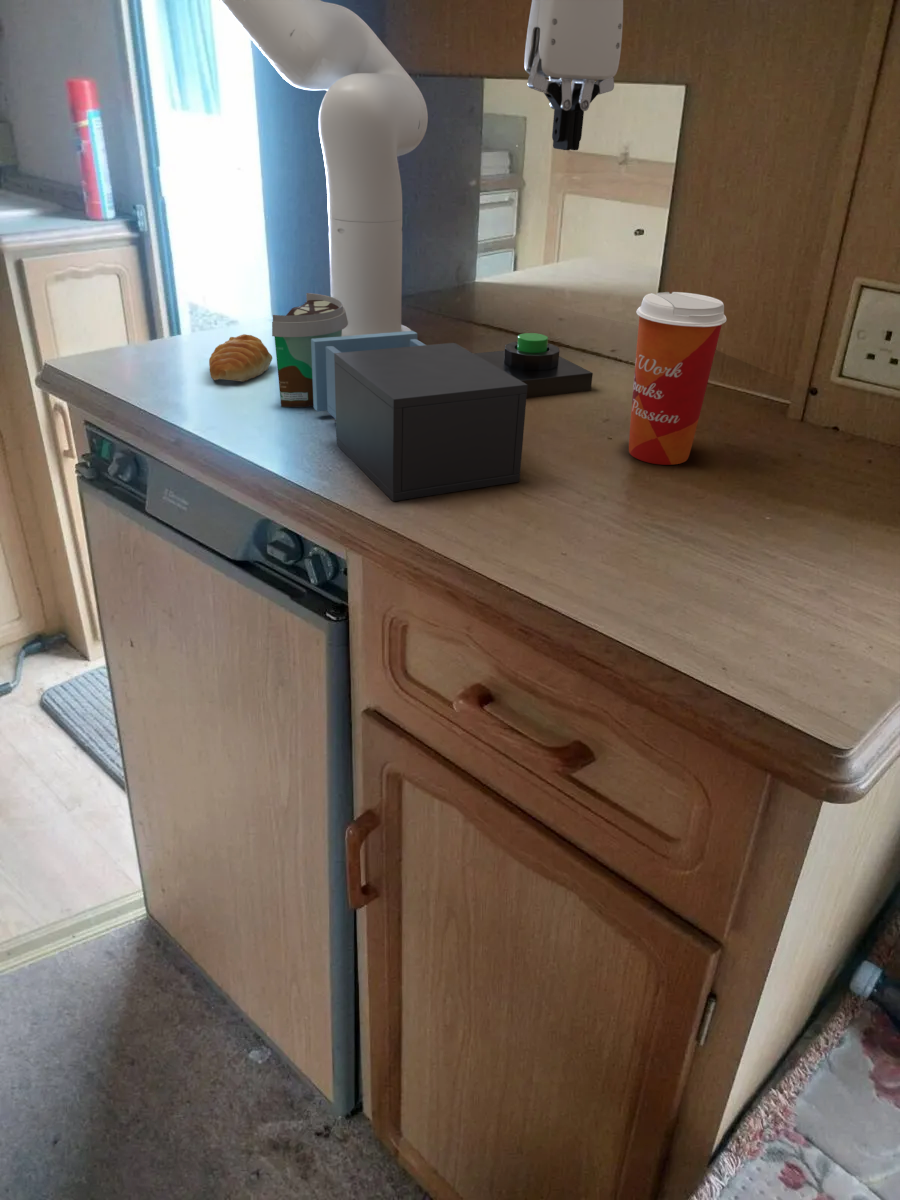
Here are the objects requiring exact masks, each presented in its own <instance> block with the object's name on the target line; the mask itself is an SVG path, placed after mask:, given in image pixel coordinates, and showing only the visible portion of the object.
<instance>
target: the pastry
mask: <svg viewBox="0 0 900 1200" xmlns="http://www.w3.org/2000/svg"><path fill="white" fill-rule="evenodd" d="M272 361H273V355H272V354H271V353H270V351H269V350H268V348H267V346H265V344H264V343H263V341H262V339H260V338H258V337H256V336H254V335H251V334H245V333H243V334H240V335H237V336H230V337H229V339H228V340H226V341H225V342H224V343H220V344H218V345H217V346H216V347H215V349H214V350H213V351H212V353H211V355H210V357H209V360H208V365H209V375H210V377H211V379H212V380H213V381H218V380H226V381H235V382H241V383H243V382H249V381H248V380H250V379H255V378H257V377H259V376H261V375H262V374H264V373H265V371H268V370H269V367H270V365H271V363H272Z"/></svg>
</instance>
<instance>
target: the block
mask: <svg viewBox="0 0 900 1200" xmlns="http://www.w3.org/2000/svg"><path fill="white" fill-rule="evenodd" d="M517 342H518V341H511V342H509V343H505V344H504V350H495V351H483V352H474V353H473V352H472V353H473V354H475V355H477V356H479V357H480V358H482V359H484V360H485V361H487V362H489V363H491V364H492V365H494V366H496V367H498V368H499V369H501V370H503V371H505V372H506V373H508V374H510V375H512V376H513V377H515V378H517V379H519V380H520V381H522V382H524V383H525V384H527V385H528V387H527V393H526V394H527V397H526V399H532V398H539V397H540V398H541V397H548V396H549V397H550V396H558V395H566V394H575V393H583V392H591V391H592V382H593V377H594V376H593V375H594V373H593V372H592V371H590V370H588V369H586V368H584V367H582V366H580V365H578V364H576V363H574V362H572V361H570V360H567V359H566V358H564V357H562V356H560V347H558V346H556V345H554V344H552V343H548V345H547V352H541V353H529V352H523V351H519V350H517Z"/></svg>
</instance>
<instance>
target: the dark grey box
mask: <svg viewBox="0 0 900 1200" xmlns="http://www.w3.org/2000/svg"><path fill="white" fill-rule="evenodd" d="M334 361H335V400H336V419H335V432H336V433H335V434H336V435H335V436H336V446H337V447H338V448H339V449H340V450H341V451H342V452H343V453H344V454H345V455H346V456H347V457H348V458H349V459H350V460H351V461H352V462H353V463H354V464H355V465H356V466H357V467H358V468H359V469H360V470H361V471H362V472H363V473H364V474H365V475H366V476H367V478H370V480H371V481H372V482H373V483H374V484H375V485H376V486H377V487H378V488H379V489H380V490H381V491H382V492H383V493H384V494H385V495H386V496H387V497H388V499H390V500H391V501H392V502H398V501H405V500H411V499H417V498H424V497H430V496H437V495H443V494H444V495H445V494H449V493H450V494H451V493H455V492H461V491H468V490H474V489H480V488H488V487H494V486H499V485H500V486H501V485H506V484H514V483H519V482H520V481H521V467H522V455H523V445H524V431H525V420H526V419H525V418H526V406H527V398H526V397H527V394H526V393H527V387H528V385H527V384H525V383H524V382H522V381H520V380H519V379H517V378H515V377H513V376H512V375H510V374H508V373H506V372H505V371H503V370H501V369H499V368H498V367H496V366H494V365H492V364H491V363H489V362H487V361H485V360H484V359H482V358H480V357H479V356H477V355H475V354H473V352H472V351H470V350H468V349H467V348H465V347H463V346H461V345H459V344H458V343H456V342H447V343H435V344H425V345H423V346H411V347H399V348H388V349H376V350H365V351H353V352H342V353H334Z"/></svg>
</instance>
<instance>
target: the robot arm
mask: <svg viewBox="0 0 900 1200" xmlns="http://www.w3.org/2000/svg"><path fill="white" fill-rule="evenodd" d="M219 2H220V3H221V4H222V5H223V6H224V8H225V9H226V10H227V11H228V13H229V14H230V15H231V16H232V17H233V18H234V21H236V22H237V24H238V25H239V26H240V28H241V29H242V30H243V31H244V33H245V34H246V35H247V36H248V38H249V39H250V40H251V41H252V42H253V44H254V45H255V46H256V47H257V48H258V50H259V51H260V52H261V53H262V55H263V56H264V57H265V58H266V59H267V60H268V62H269V63H270V64H271V65H272V66H273V68H274V69H275V70H276V72H277V73H278V74H279V75H280V76H281V77H282V79H283V80H285V81H286V82H287V83H288V84H290V86H293V87H295V88H297V89H301V90H305V91H326V92H325V94H324V96H323V98H322V101H321V104H320V107H319V112H318V133H319V139H320V144H321V150H322V155H323V162H324V169H325V170H324V171H325V179H326V194H327V195H326V196H327V198H326V199H327V217H328V247H329V249H328V250H329V284H330V288H329V289H330V297H333V298H336V299H338V300H340V301H341V302H342V305H343V307H344V309H345V312H346V316H347V320H348V325H347V327H345V328H344V329H342V336H353V335H366V334H378V333H391V332H404V331H412V329H411V328H410V327H407V325H403V324H402V305H403V304H402V301H403V300H402V299H403V298H402V296H403V295H402V293H403V292H402V291H403V287H402V286H403V190H402V180H401V174H400V168H399V161H398V157H400V156H404V155H406V154H409V153H411V152H412V151H414V150H415V149H416V148H417V147H418V146H419V145H420V143H421V142H422V141H423V139H424V137H425V135H426V132H427V128H428V124H429V123H428V121H429V117H428V116H429V115H428V113H429V112H428V107H427V103H426V100H425V98H424V96H423V93H422V92H421V90H420V88H419V87H418V85H417V84H416V82H415V81H414V80H413V78H412V77H411V76H410V75H409V73H408V72H407V71H406V69H404V67H403V66H402V65H401V63H399V61H398V60H397V58H396V57H395V56H394V55H393V54H392V52H391V51H390V50H389V49H388V48H387V46H386V45H385V44H384V43H383V42H382V41H381V39H380V38H379V37H378V36H377V34H376V33H375V31H374V30H373V29H372V28H371V27H370V26H369V25H368V23H366V22H365V21H364V20H363V19H362V18H361V17H360V15H358V14H356V13H355V12H354V11H352V10H351V9H349V8H347V7H346V6H343V5H340V4H337V3H333V2H328V1H323V0H219ZM527 24H528V25H527V30H526V31H527V32H526V38H525V47H524V48H525V49H524V61H523V62H524V63H523V65H524V70H525V72H526V73H527V74H528V75H529V76H528V79H527V87H528V88H529V89H532V90H535V91H537V92H539V93H543V94H544V96H545V97H546V99H547V100H548V102H549V106H550V108H551V109H552V110H553V120H552V131H551V132H552V133H551V138H552V139H551V140H552V146H553V149H555V150H560V151H561V150H562V151H578V150H579V149H580V142H581V141H582V135H583V124H584V116H585V112H587V111H588V110H589V108H590V106H591V103H592V102H593V100H595V98H596V97H597V96H599V95H603V94H606V93H609V92H612V91H613V90H614V88H615V76H616V75H617V72H618V70H619V66H620V59H621V52H622V41H623V28H624V27H623V24H624V0H531V6H530V11H529V17H528V23H527ZM547 78H548V79H547Z"/></svg>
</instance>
